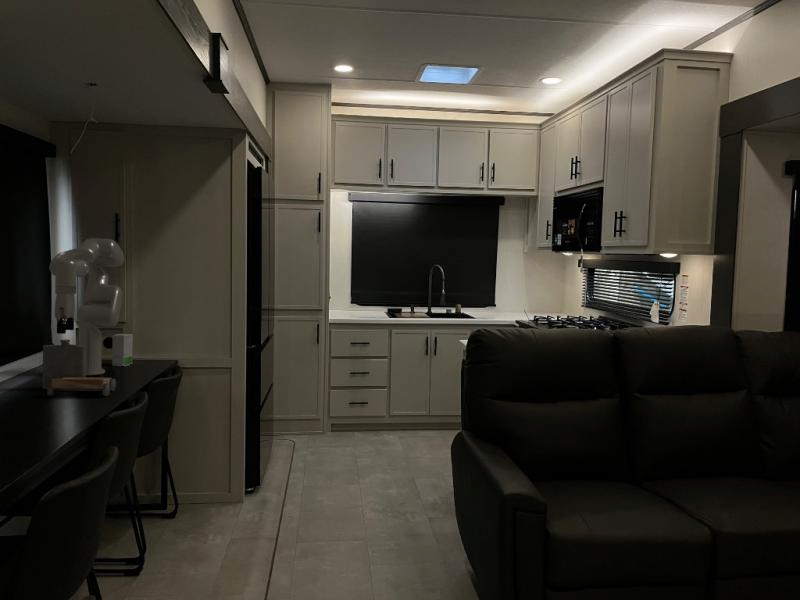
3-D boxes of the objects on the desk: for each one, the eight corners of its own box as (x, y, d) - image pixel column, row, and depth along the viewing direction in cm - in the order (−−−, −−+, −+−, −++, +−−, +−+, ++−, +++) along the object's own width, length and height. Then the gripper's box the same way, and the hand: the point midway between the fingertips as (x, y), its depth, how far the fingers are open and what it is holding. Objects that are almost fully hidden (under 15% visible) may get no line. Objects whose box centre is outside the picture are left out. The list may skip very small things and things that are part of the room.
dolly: (60, 389, 243) (60, 372, 242) (115, 389, 247) (116, 372, 246) (47, 397, 229) (47, 379, 228) (106, 397, 233) (106, 379, 233)
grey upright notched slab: (41, 388, 242) (41, 340, 240) (45, 386, 246) (45, 338, 244) (83, 389, 245) (84, 340, 244) (86, 386, 249) (87, 339, 248)
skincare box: (123, 367, 294) (123, 335, 293) (110, 366, 295) (111, 334, 294) (133, 364, 302) (133, 333, 301) (120, 363, 303) (121, 332, 302)
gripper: (63, 288, 250) (62, 328, 252) (47, 291, 233) (47, 334, 235) (82, 288, 252) (82, 329, 253) (68, 292, 235) (68, 335, 236)
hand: (65, 331), depth 244 cm, fingers open, 9 cm apart
